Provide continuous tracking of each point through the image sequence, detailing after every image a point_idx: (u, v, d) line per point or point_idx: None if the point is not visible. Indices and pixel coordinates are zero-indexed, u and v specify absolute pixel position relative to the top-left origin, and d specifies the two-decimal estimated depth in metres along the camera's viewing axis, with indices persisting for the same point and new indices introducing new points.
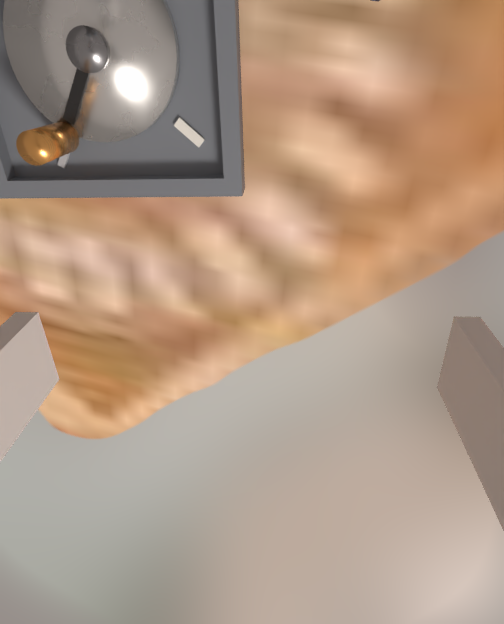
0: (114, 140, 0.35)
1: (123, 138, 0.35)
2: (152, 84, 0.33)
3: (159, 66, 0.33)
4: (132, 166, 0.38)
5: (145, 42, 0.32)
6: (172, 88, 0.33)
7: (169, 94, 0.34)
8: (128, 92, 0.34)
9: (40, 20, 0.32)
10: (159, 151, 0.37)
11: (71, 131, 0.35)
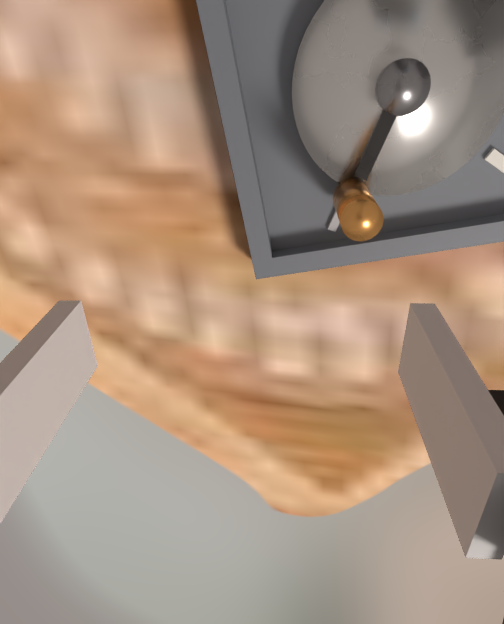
0: (413, 190, 0.29)
1: (426, 186, 0.29)
2: (476, 115, 0.26)
3: (490, 91, 0.26)
4: (420, 215, 0.31)
5: (476, 64, 0.25)
6: None
7: (497, 123, 0.27)
8: (443, 130, 0.27)
9: (342, 62, 0.25)
10: (458, 193, 0.30)
11: None
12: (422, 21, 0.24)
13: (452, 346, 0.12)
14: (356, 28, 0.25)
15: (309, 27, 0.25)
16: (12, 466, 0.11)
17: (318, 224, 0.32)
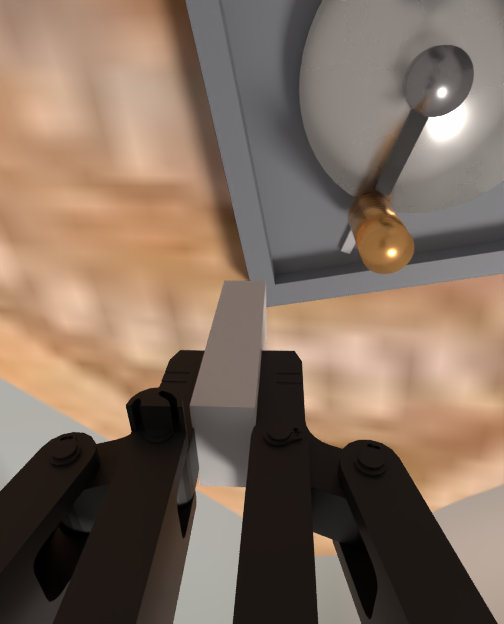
0: (446, 206, 0.24)
1: (461, 201, 0.24)
2: None
3: None
4: (451, 235, 0.26)
5: None
6: None
7: None
8: (485, 134, 0.22)
9: (362, 51, 0.20)
10: (498, 209, 0.25)
11: (391, 206, 0.23)
12: None
13: (255, 314, 0.13)
14: (381, 7, 0.20)
15: (321, 6, 0.20)
16: None
17: (329, 244, 0.27)
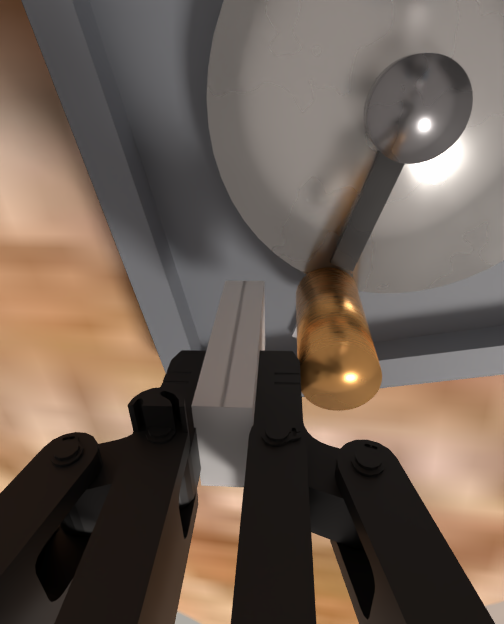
0: (436, 285, 0.16)
1: (458, 278, 0.16)
2: None
3: None
4: (445, 316, 0.19)
5: None
6: None
7: None
8: (491, 185, 0.14)
9: (297, 65, 0.13)
10: None
11: (355, 289, 0.16)
12: None
13: (253, 314, 0.13)
14: None
15: None
16: None
17: (276, 327, 0.19)
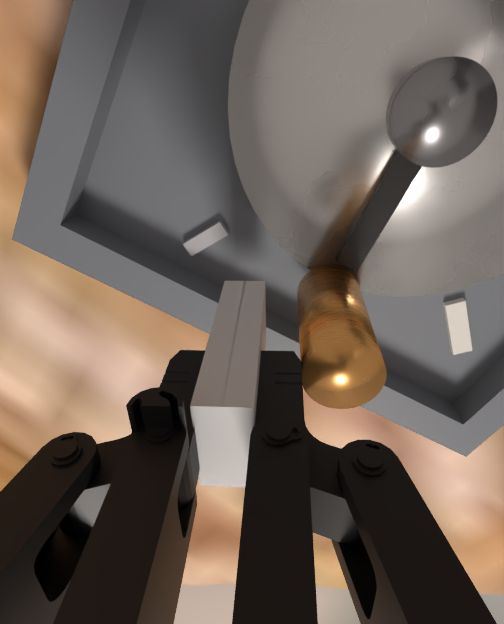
0: (438, 292, 0.17)
1: (460, 287, 0.16)
2: None
3: None
4: None
5: None
6: None
7: None
8: (503, 197, 0.15)
9: (326, 54, 0.13)
10: (383, 322, 0.19)
11: (359, 288, 0.16)
12: None
13: (255, 314, 0.13)
14: None
15: None
16: None
17: (174, 225, 0.17)
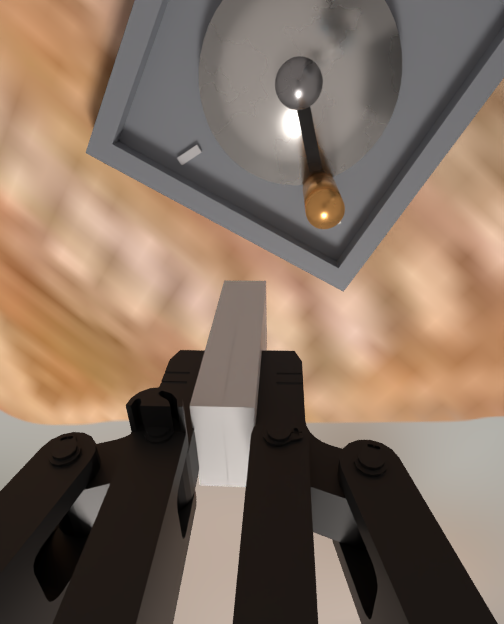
0: (368, 149, 0.30)
1: (376, 139, 0.29)
2: (376, 57, 0.27)
3: (374, 32, 0.26)
4: (254, 203, 0.33)
5: (346, 21, 0.26)
6: None
7: (400, 49, 0.27)
8: (357, 88, 0.28)
9: (241, 99, 0.29)
10: (290, 206, 0.33)
11: (326, 175, 0.30)
12: (279, 26, 0.26)
13: (255, 314, 0.13)
14: (234, 69, 0.28)
15: (201, 94, 0.29)
16: None
17: (172, 148, 0.32)
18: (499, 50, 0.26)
